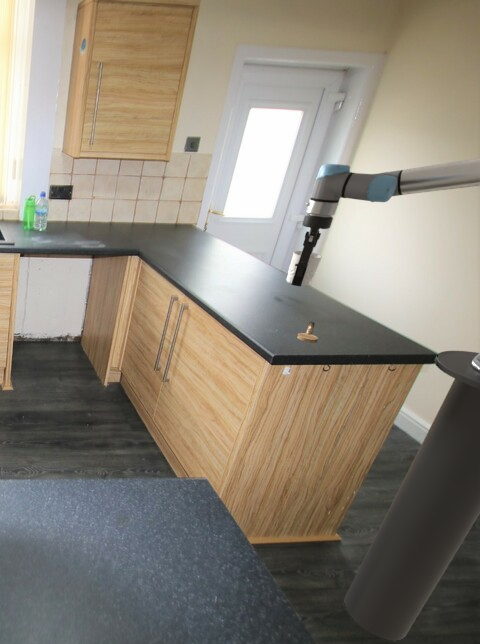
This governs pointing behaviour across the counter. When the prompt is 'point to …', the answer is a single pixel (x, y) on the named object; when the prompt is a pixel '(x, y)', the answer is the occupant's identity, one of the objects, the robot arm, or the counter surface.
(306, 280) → the white cup
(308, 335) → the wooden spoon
